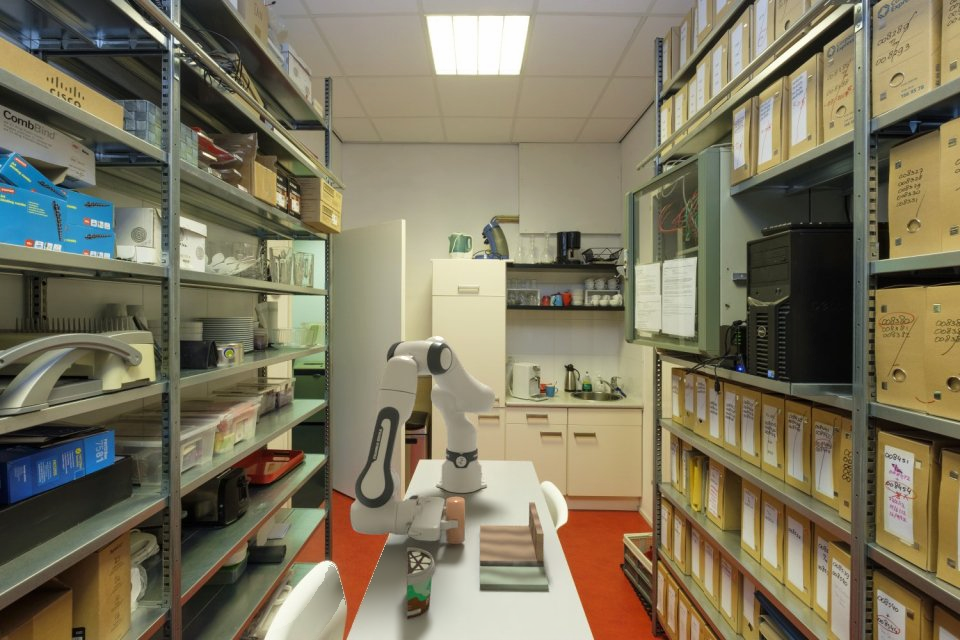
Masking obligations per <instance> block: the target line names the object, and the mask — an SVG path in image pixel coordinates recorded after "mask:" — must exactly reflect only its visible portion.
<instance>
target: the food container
mask: <svg viewBox="0 0 960 640" xmlns="http://www.w3.org/2000/svg"><path fill="white" fill-rule="evenodd" d="M435 565H436V564H435V560H434V558H433V556H432V554H431V553H430V552H428V551H427V550H425V549H422V548H417V547H406V618H407V619H406V620H411V619H415V618H418V617H420V616H422V615H423V614H426V612H427V611H428V610H429V609H430V603H431V592H432V578H433V575H434V574H435V571H436V566H435Z"/></svg>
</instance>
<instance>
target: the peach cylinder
mask: <svg viewBox="0 0 960 640" xmlns="http://www.w3.org/2000/svg"><path fill="white" fill-rule="evenodd" d="M465 502H466V499H465V497H461V496H449V497H448V498H446V499H445V507H446V516H445V521H449V520H452V519H458V527H457V528H450V529H447V530H445V540H446V543H448V544H451V545H452V544H453V545H458V544H462V543H464V542H465V540H466V537H465V536H466V532H465V531H466V517H465V516H466V513H465V512H466V510H465V509H466V503H465Z"/></svg>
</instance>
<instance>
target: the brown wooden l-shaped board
mask: <svg viewBox="0 0 960 640" xmlns="http://www.w3.org/2000/svg"><path fill="white" fill-rule="evenodd" d="M479 527H480V528H479V590H518V591H519V590H520V591H521V590H524V591H525V590H527V591H528V590H531V591H534V590H535V591H539V590H540V591H544V590H545V591H548V590H549V582H548V579H547V575H546V569H545V562H544V545H545V544H544V542H545V541H544V540H545V539H544V538H545V537H544V536H545V535H544V534H545V533H544V529H543V527H542V523H541V520H540V517H539V513H538V509H537V505H536V503H535V502H534V501H531V502H528V525H489V524H488V525H486V524H485V525H479Z"/></svg>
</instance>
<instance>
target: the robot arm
mask: <svg viewBox="0 0 960 640" xmlns="http://www.w3.org/2000/svg"><path fill="white" fill-rule="evenodd" d="M428 375H429V376H430V375H431V377H432V378H433V380H434V382H435V384H434V385H433V387H432V388H431V392H430V400H431V403H432V404H433V406H434V407H436V409H437V410H438V411H439V412H440V414H441V416H442V418H443V421H444V423H445V426H446V427H445V428H446V443H447V445H446V449H445V461H444V462H443V463H442V464H441V476H440V479H439V480H438V481H437V482H436V484H435V485H436V487H437V488H440V489H443V490H444V491H447V492H451V493H455V494H457V493H458V494H464V493H465V494H466V493H471V492H472V493H473V492H475V491H478V490H480V489H484V488H487V487H488V485H487V482H486V480H485V478H484V477H483V470H482V468H483V467H482V466H483V465H482V464H481V462H480V461H479V460H478V458H479V457H478V456H479V450H478V445H477V443H478V441H477V439H478V438H477V437H478V430H477V428H476V427H477V426H476V424H474V423H473V422H472V421H471V420H469V418H468V416H467V414H468V413H469V414H477V415H478V414H485V413H489V412H490V411H491V410H492V409H493V407H494V406H495V403H496V395H495V392H494V390H493V389H492V387H491V386H489V385H486V384H485V383H482V382H481V381H480V380H478V379H477V378H475V377H474V376H473V375H472V374H470V373H469V372H468V371H467V370H466V369H465V366H463V363H462V362H461V360H460V359H459V356H457V353H456V351H455V350H454V349H453V347H452V346H451V345H450V343H449V342H448V341H447V340H446V339H445V338H444V337H442V336H440V335H433V336H430V337H429V338H427V339H425V340H411V341H409V340H407V341H405V340H404V341H398V342H394V343H392V344H391V346H390V347H389V348H388V351H387V354H386V365H385V368H384V370H383V373H382V376H381V381H380V384H379V388H378V393H377V394H378V395H377V402H376V403H377V404H376V412H375V414H376V415H375V422H374V425H375V426H374V430H373V433H372V439H371V443H370V448H369V452H368V457H367V460H366V464H365V465H364V468H363V469H362V471H361V472H360V473H359V475H358V477H357V479H356V481H355V486H354V493H355V497H356V499H355V500H354V501H353V502H352V504H351V505H350V509H349V519H350V521H349V523H350V524H351V527H352V528H351V529H353V530H354V531H355V532H356V533H360V534H365V535H376V536H377V535H380V536H382V535H386V534H392V535H395V536H396V535H397V536H408V537H411V538H412V539H413V540H417V541H426V542H436V541H439V540H440V536H441V531H446V530H447V529H450V528H457V527H458V519H452V520H449V521H446V519H444V517H446V499H445V498H443V497H441V496H429V495H428V496H426V495H425V496H421V497H420V495H419V494H412V495H411V496H410V497H408V498H407V499H404V500H398V499H397V497H398V494H399V490H400V487H401V478H400V475H399V473H398V471H397V470H396V469H395V468H393V467H392V466H391V465H392V462H393V461H392V460H393V455H394V450H395V446H396V445H395V444H396V440H397V436H398V435H399V433H400V430H401V429H402V427H403V425H404V424H405V423H406V422H407V421H408V420H409V419H410V418H411V415H412V413H413V410H414V407H415V403H416V397H417V391H418V376H428ZM466 413H467V414H466Z"/></svg>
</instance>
